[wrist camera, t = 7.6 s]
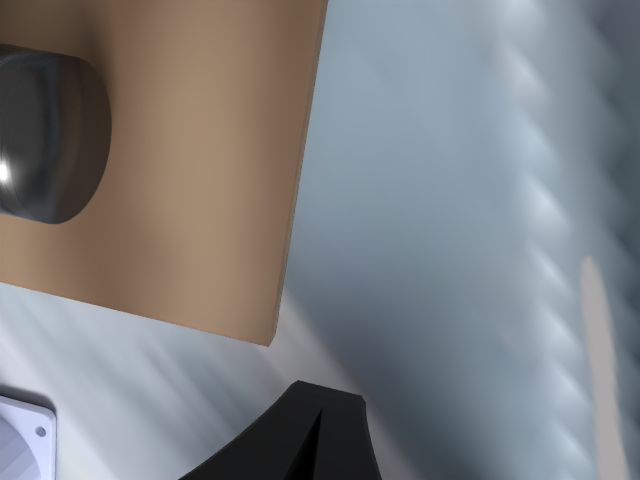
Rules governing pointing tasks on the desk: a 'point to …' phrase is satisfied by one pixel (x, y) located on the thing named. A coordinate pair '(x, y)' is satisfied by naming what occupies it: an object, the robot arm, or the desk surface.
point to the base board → (179, 158)
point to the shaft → (50, 134)
